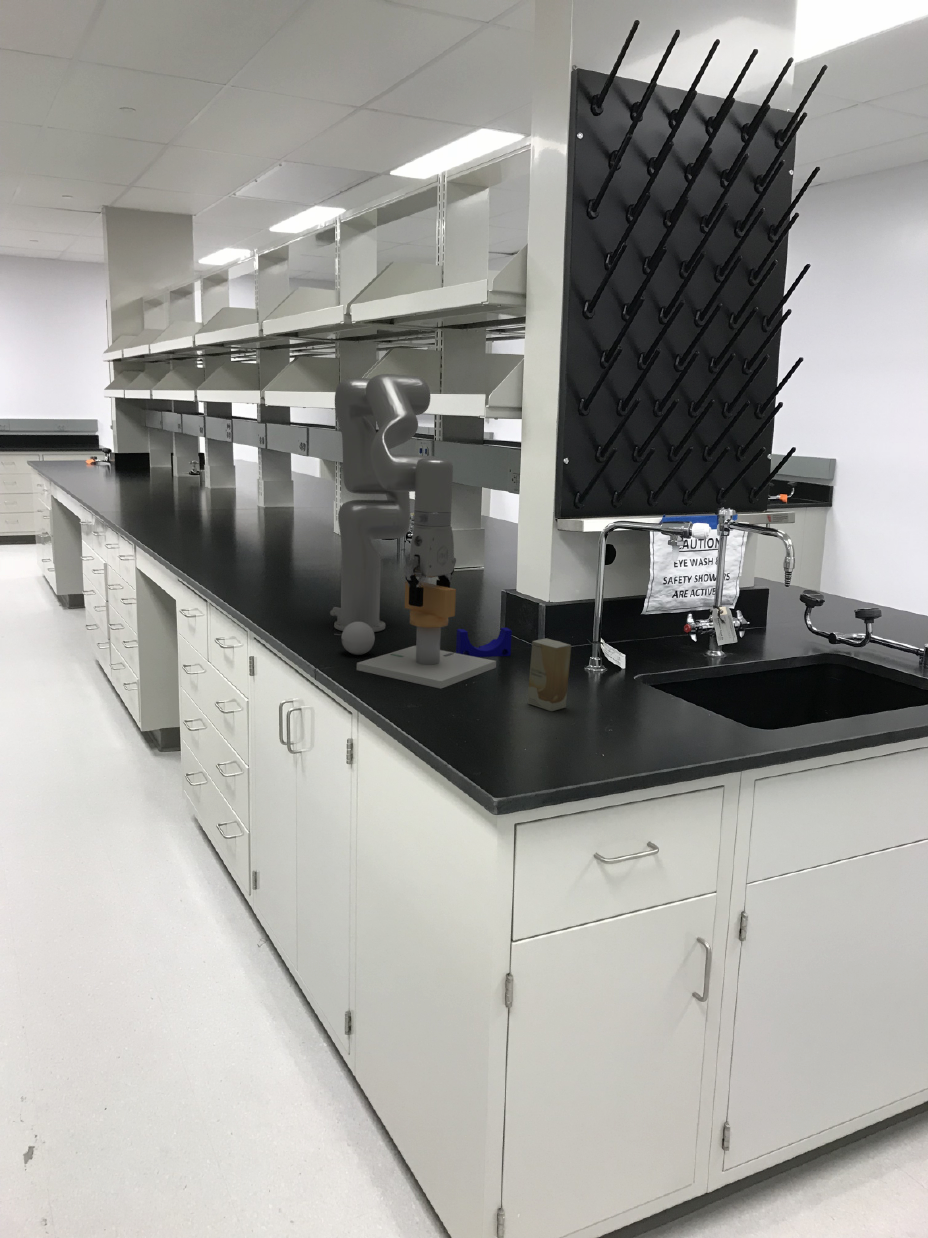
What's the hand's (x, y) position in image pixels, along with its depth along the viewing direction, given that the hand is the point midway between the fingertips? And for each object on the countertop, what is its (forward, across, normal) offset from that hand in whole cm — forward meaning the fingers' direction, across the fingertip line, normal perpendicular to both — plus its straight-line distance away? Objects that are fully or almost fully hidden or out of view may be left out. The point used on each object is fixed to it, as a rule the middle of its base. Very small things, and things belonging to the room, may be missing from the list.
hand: (429, 602), depth 194 cm
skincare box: (+14, -7, -32) cm, 36 cm away
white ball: (+14, 0, +20) cm, 25 cm away
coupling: (+4, 0, 0) cm, 4 cm away
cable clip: (+15, +19, -2) cm, 24 cm away
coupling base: (+14, 0, 0) cm, 14 cm away
